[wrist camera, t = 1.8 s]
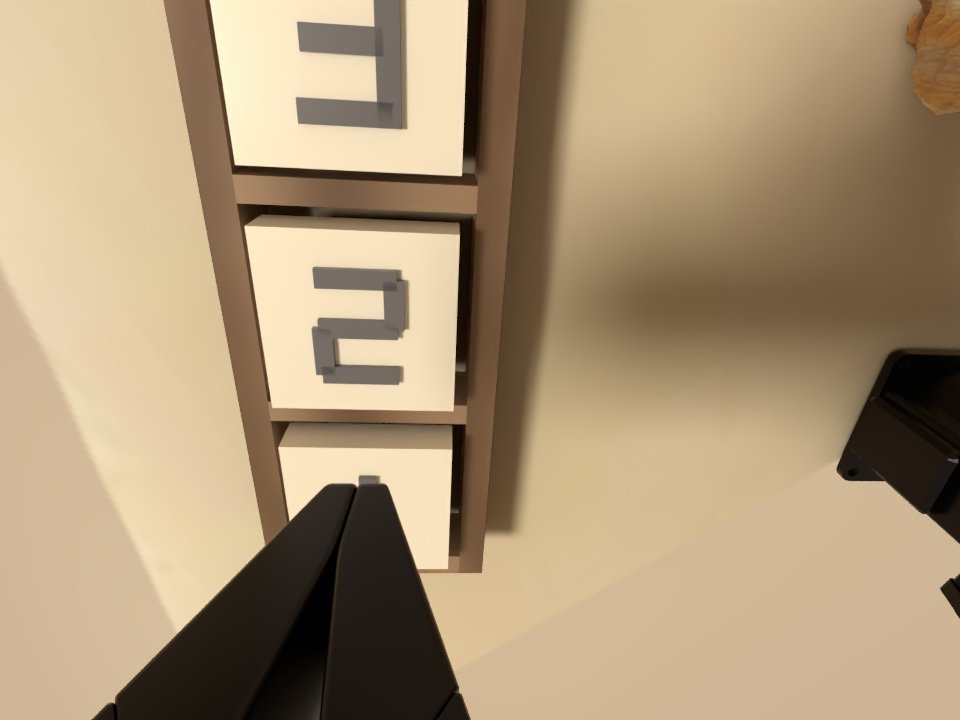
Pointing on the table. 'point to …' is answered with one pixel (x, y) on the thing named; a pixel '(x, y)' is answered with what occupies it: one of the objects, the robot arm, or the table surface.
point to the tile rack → (248, 190)
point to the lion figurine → (937, 54)
